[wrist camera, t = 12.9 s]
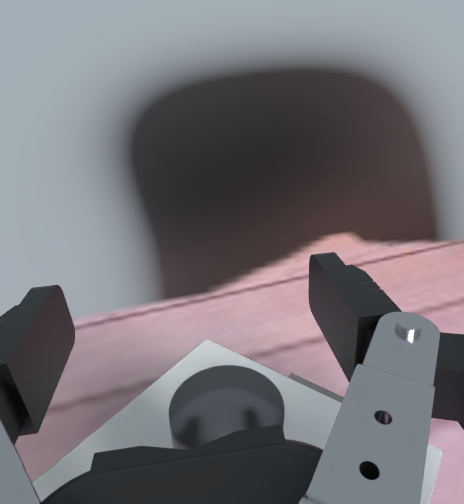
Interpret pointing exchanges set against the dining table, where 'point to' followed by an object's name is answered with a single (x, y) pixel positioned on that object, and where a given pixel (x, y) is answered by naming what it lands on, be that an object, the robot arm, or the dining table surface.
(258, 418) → the clevis pin
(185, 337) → the dining table surface
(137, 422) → the clevis bracket
